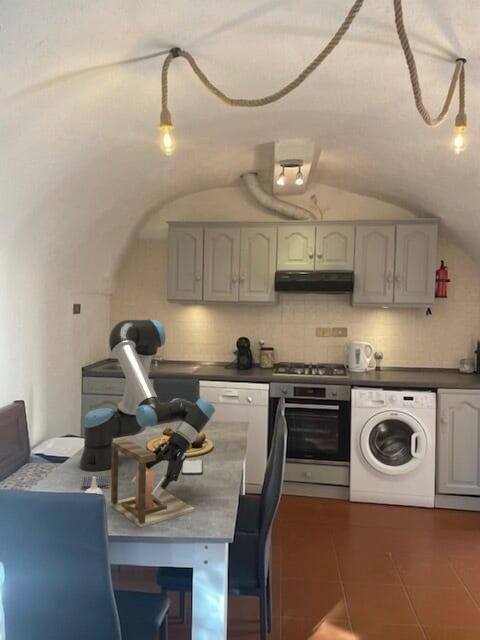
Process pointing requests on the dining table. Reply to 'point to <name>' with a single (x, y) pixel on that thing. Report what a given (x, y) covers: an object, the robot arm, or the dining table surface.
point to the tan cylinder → (149, 489)
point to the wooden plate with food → (195, 449)
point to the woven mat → (100, 482)
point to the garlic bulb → (94, 487)
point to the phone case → (192, 467)
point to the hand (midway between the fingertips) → (144, 489)
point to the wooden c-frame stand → (142, 489)
